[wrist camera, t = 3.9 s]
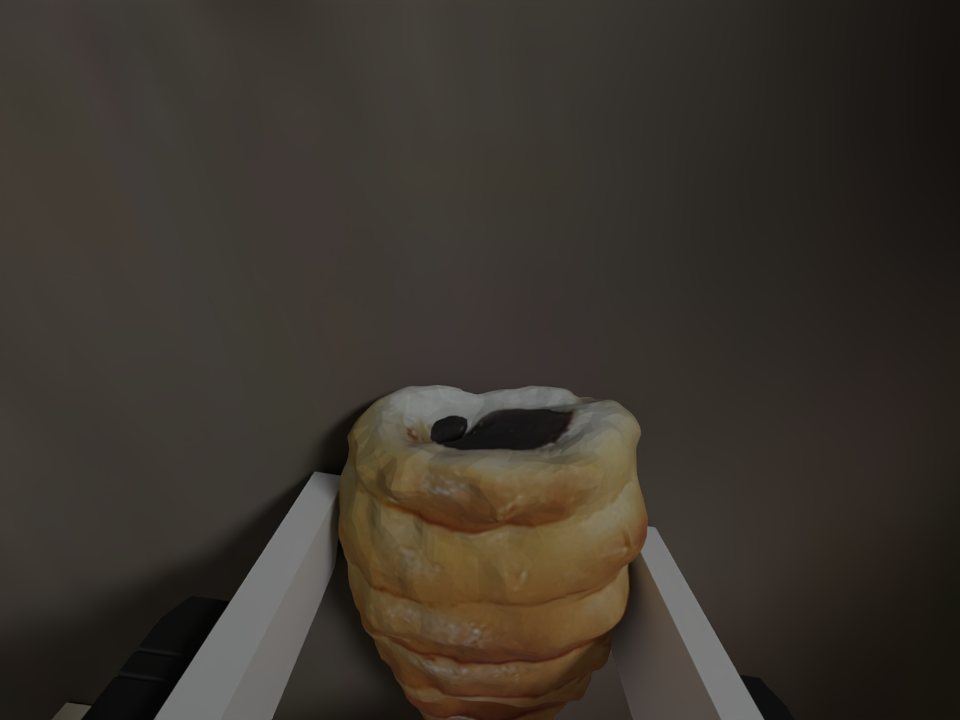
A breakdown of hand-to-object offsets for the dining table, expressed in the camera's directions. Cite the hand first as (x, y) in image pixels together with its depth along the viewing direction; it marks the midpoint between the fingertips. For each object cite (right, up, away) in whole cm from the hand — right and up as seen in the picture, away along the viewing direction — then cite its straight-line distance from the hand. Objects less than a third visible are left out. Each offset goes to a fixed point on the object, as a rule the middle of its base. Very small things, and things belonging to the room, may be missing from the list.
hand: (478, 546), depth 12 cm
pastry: (0, +1, +1) cm, 1 cm away
